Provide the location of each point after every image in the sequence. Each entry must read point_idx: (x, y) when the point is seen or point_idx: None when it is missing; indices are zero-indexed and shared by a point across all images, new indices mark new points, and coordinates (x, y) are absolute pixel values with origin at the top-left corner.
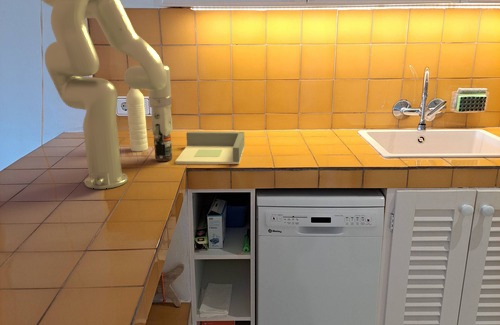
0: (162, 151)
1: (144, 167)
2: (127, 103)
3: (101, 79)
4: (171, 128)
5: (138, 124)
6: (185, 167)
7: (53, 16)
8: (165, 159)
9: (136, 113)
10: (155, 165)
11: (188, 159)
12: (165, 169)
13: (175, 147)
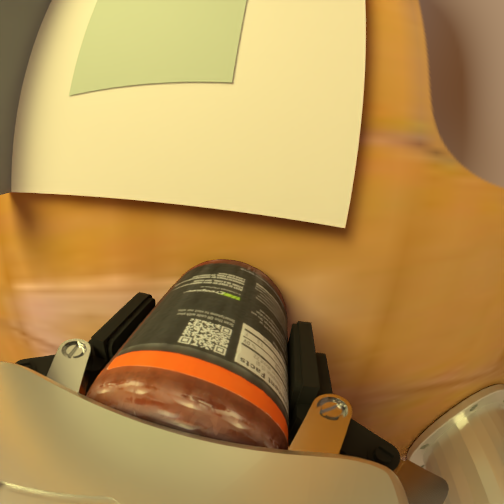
0: (318, 359)
1: (361, 384)
2: None
3: None
4: (26, 417)
5: None
6: (419, 151)
7: None
8: (283, 303)
9: None
10: (342, 343)
11: (310, 121)
12: (430, 278)
13: (20, 253)
